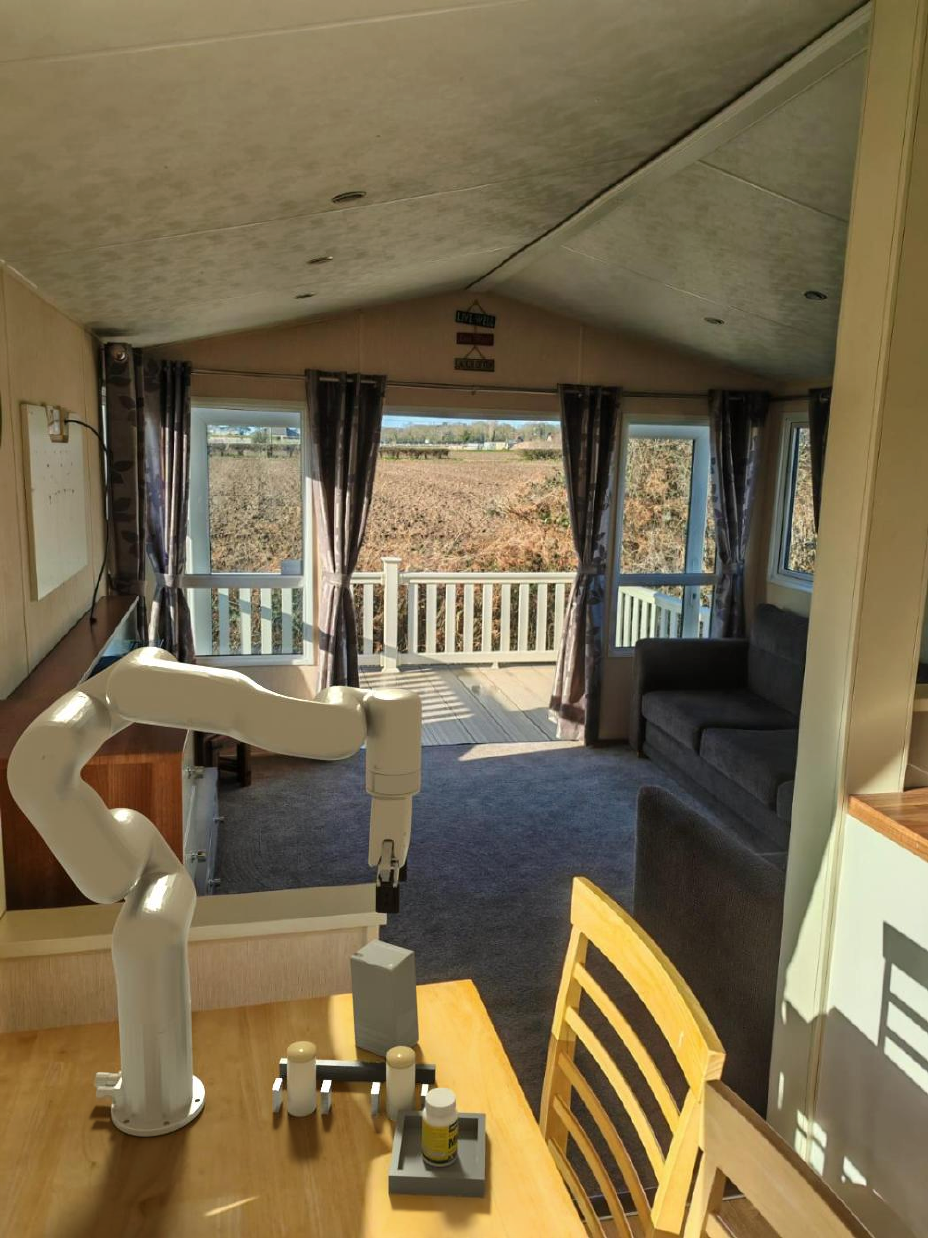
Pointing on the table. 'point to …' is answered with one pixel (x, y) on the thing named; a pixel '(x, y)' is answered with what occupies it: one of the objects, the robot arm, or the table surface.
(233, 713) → the robot arm
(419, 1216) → the table surface
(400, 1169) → the tray
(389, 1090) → the cylinder
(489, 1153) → the table surface
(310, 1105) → the ball
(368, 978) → the skincare box
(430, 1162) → the supplement bottle
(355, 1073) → the clip rail
